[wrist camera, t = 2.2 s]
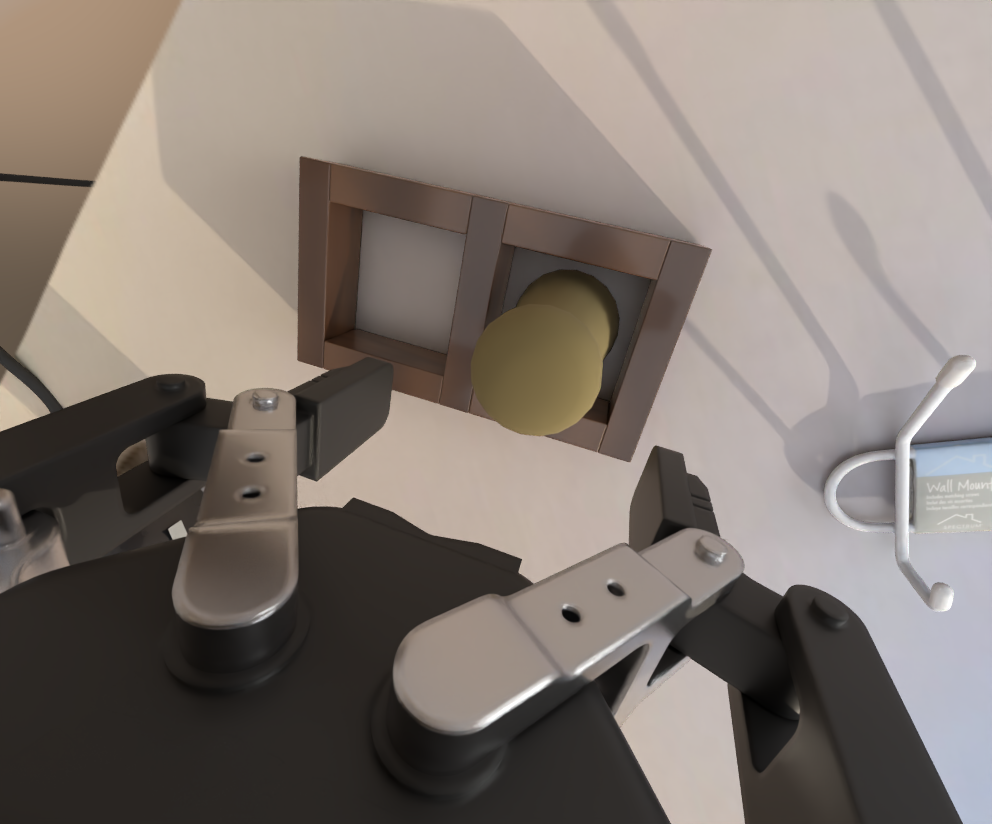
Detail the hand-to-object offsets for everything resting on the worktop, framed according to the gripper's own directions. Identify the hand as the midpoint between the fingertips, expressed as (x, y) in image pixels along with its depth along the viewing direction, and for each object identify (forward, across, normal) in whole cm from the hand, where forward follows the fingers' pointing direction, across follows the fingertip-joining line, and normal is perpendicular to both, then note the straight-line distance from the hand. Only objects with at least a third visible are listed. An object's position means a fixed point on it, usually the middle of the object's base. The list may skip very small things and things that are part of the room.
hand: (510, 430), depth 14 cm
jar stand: (+14, +5, 0) cm, 15 cm away
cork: (+15, 0, 0) cm, 15 cm away
